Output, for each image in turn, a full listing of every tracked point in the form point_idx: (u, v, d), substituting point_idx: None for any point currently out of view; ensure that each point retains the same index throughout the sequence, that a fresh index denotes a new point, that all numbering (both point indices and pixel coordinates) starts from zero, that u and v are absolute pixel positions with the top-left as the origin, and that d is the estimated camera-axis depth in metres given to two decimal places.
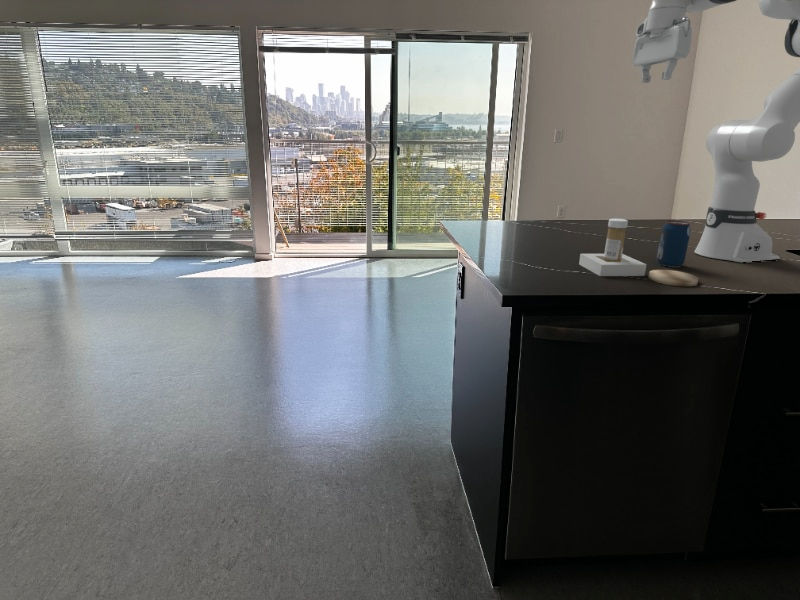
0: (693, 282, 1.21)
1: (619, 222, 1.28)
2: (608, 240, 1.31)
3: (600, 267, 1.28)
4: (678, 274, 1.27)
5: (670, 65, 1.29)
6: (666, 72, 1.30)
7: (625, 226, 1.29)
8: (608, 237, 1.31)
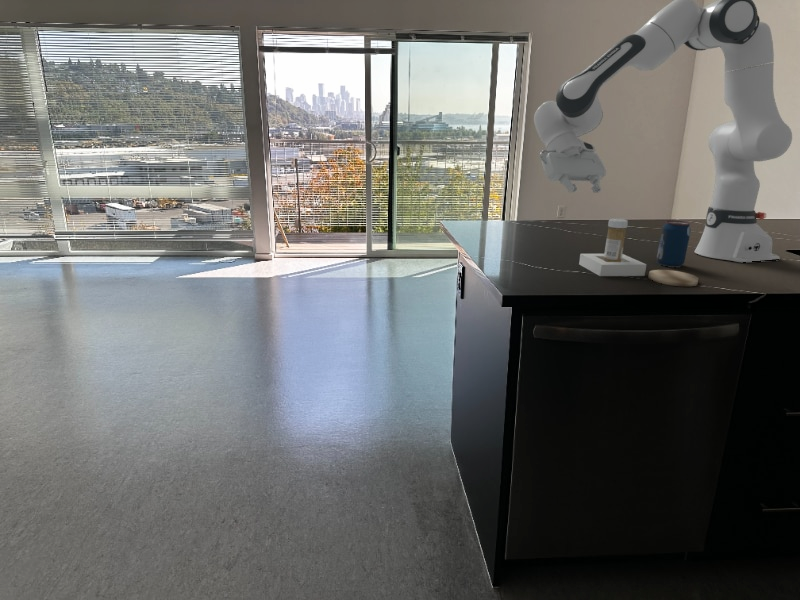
0: (693, 282, 1.21)
1: (619, 222, 1.28)
2: (608, 240, 1.31)
3: (600, 267, 1.28)
4: (678, 274, 1.27)
5: (563, 182, 1.37)
6: (567, 187, 1.37)
7: (625, 226, 1.29)
8: (608, 237, 1.31)
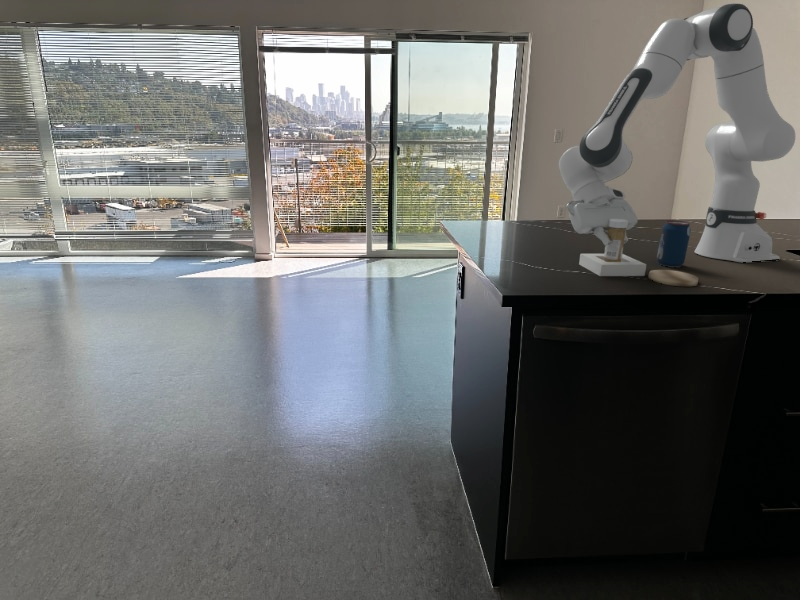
0: (693, 282, 1.21)
1: (619, 222, 1.28)
2: None
3: (600, 267, 1.28)
4: (678, 274, 1.27)
5: (597, 235, 1.31)
6: (602, 240, 1.31)
7: (625, 226, 1.29)
8: None
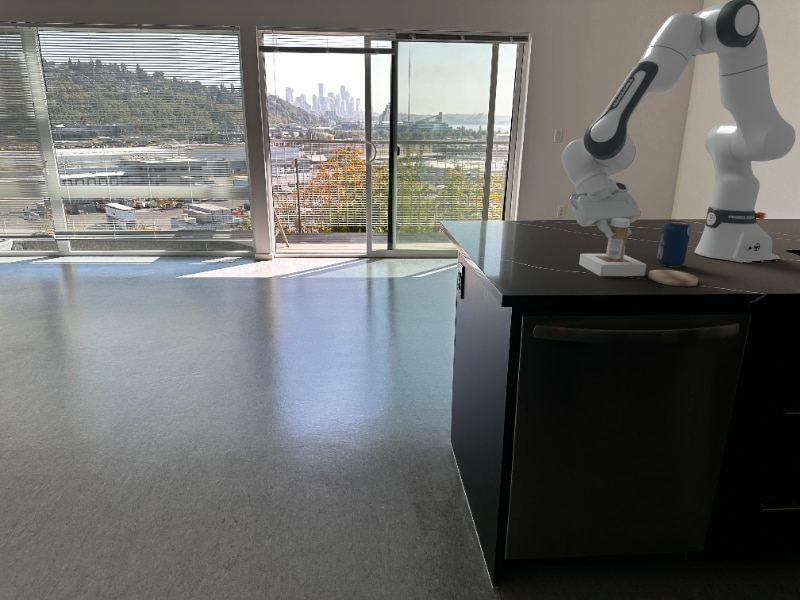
0: (693, 282, 1.21)
1: (622, 221, 1.28)
2: (610, 239, 1.31)
3: (600, 267, 1.28)
4: (678, 274, 1.27)
5: (600, 228, 1.31)
6: (605, 233, 1.31)
7: (628, 225, 1.29)
8: None
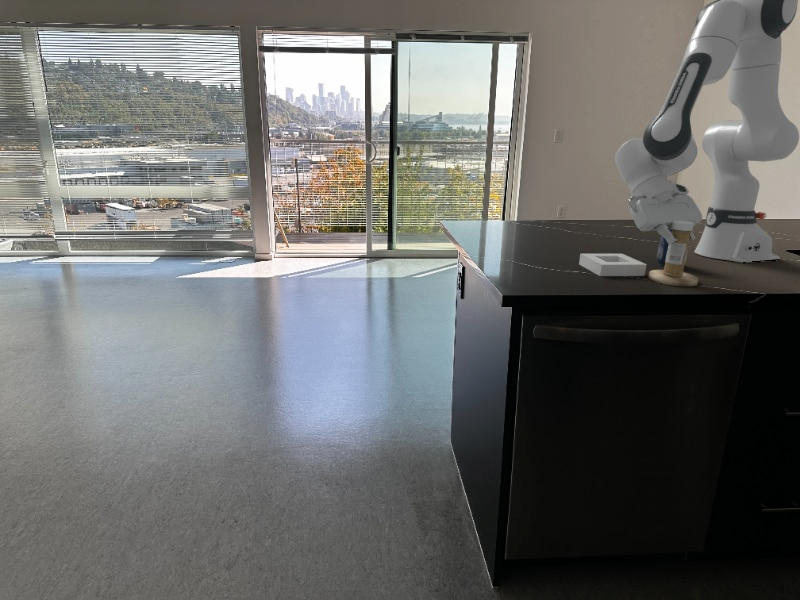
0: (693, 282, 1.21)
1: (685, 224, 1.20)
2: None
3: (600, 267, 1.28)
4: None
5: (661, 233, 1.22)
6: (666, 238, 1.22)
7: (691, 228, 1.21)
8: None
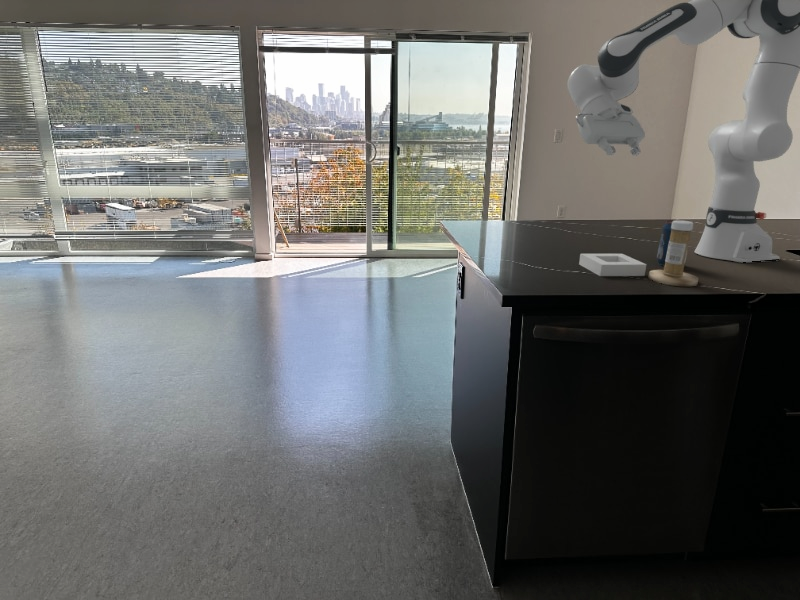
0: (693, 282, 1.21)
1: (685, 224, 1.20)
2: (671, 244, 1.23)
3: (600, 267, 1.28)
4: None
5: (601, 145, 1.33)
6: (605, 150, 1.33)
7: (691, 228, 1.21)
8: (671, 240, 1.23)
